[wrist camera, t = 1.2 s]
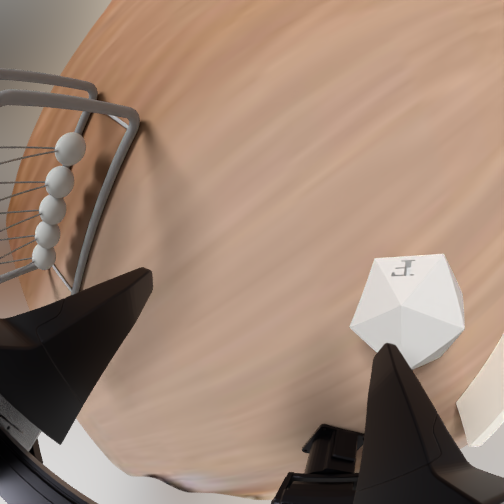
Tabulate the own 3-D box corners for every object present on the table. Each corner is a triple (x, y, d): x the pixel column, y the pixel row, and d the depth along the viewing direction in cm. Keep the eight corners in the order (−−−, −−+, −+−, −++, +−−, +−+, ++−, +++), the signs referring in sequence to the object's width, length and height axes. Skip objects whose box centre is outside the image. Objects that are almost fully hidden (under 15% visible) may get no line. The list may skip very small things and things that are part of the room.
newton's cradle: (101, 84, 25) (-24, 66, 8) (149, 113, 24) (-15, 90, 7) (45, 262, 36) (-38, 294, 20) (77, 305, 35) (-12, 353, 19)
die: (460, 263, 18) (465, 225, 12) (455, 363, 16) (460, 384, 9) (378, 268, 24) (340, 237, 17) (371, 360, 22) (327, 373, 15)
